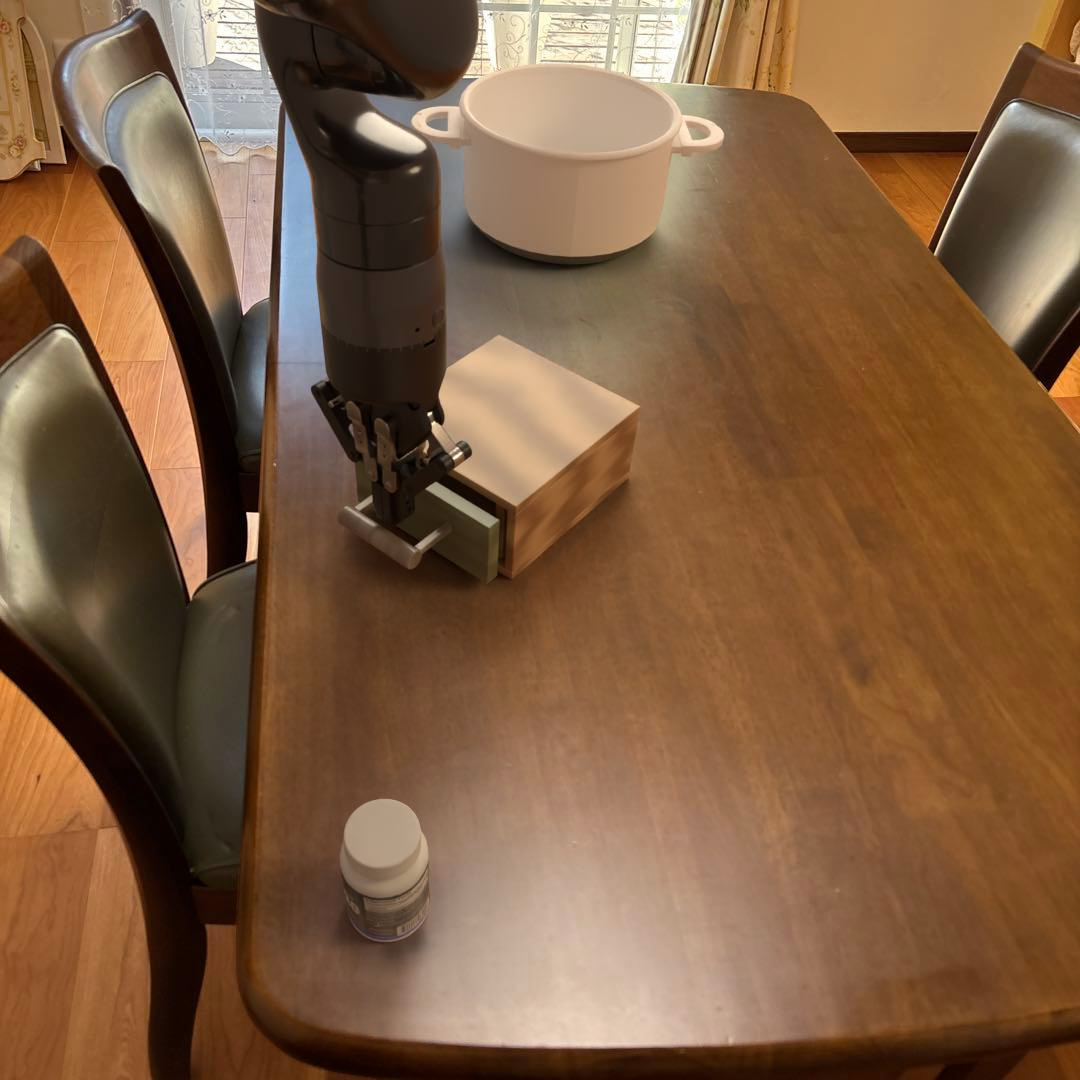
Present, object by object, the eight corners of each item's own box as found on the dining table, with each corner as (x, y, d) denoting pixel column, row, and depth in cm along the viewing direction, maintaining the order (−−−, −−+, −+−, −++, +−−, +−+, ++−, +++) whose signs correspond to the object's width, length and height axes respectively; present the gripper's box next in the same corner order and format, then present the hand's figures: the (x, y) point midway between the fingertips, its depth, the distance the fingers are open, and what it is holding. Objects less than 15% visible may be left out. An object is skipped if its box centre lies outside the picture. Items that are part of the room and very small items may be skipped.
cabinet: (511, 580, 77) (516, 507, 72) (372, 492, 83) (367, 418, 78) (629, 478, 86) (640, 406, 81) (496, 405, 92) (498, 333, 87)
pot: (688, 182, 125) (708, 68, 116) (723, 284, 109) (750, 160, 99) (416, 174, 123) (413, 55, 113) (411, 277, 106) (407, 149, 97)
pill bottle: (345, 871, 60) (333, 796, 54) (425, 860, 61) (422, 785, 55) (349, 951, 57) (337, 880, 51) (434, 938, 57) (432, 867, 52)
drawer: (441, 623, 73) (441, 567, 68) (310, 534, 78) (303, 477, 74) (601, 486, 84) (609, 431, 80) (477, 417, 89) (478, 362, 85)
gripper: (260, 291, 62) (291, 501, 74) (421, 381, 56) (427, 591, 69) (350, 245, 66) (366, 451, 78) (508, 325, 61) (498, 532, 73)
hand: (394, 516), depth 73 cm, fingers closed
